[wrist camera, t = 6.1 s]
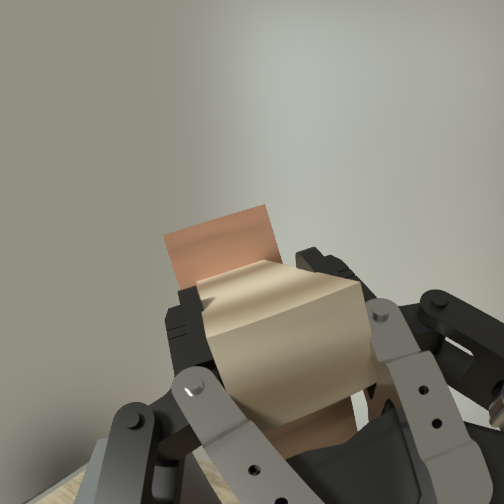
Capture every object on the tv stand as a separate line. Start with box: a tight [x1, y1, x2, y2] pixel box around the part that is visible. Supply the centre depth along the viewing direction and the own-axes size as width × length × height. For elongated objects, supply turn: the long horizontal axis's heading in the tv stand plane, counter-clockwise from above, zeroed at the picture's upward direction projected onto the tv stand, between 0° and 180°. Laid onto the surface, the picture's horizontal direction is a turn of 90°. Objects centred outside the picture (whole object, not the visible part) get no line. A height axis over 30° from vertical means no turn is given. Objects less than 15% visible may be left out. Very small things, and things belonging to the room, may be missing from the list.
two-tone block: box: [163, 204, 377, 432], centre depth 15 cm, size 16×6×6 cm, turn 11°
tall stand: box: [262, 396, 358, 459], centre depth 22 cm, size 10×8×32 cm
